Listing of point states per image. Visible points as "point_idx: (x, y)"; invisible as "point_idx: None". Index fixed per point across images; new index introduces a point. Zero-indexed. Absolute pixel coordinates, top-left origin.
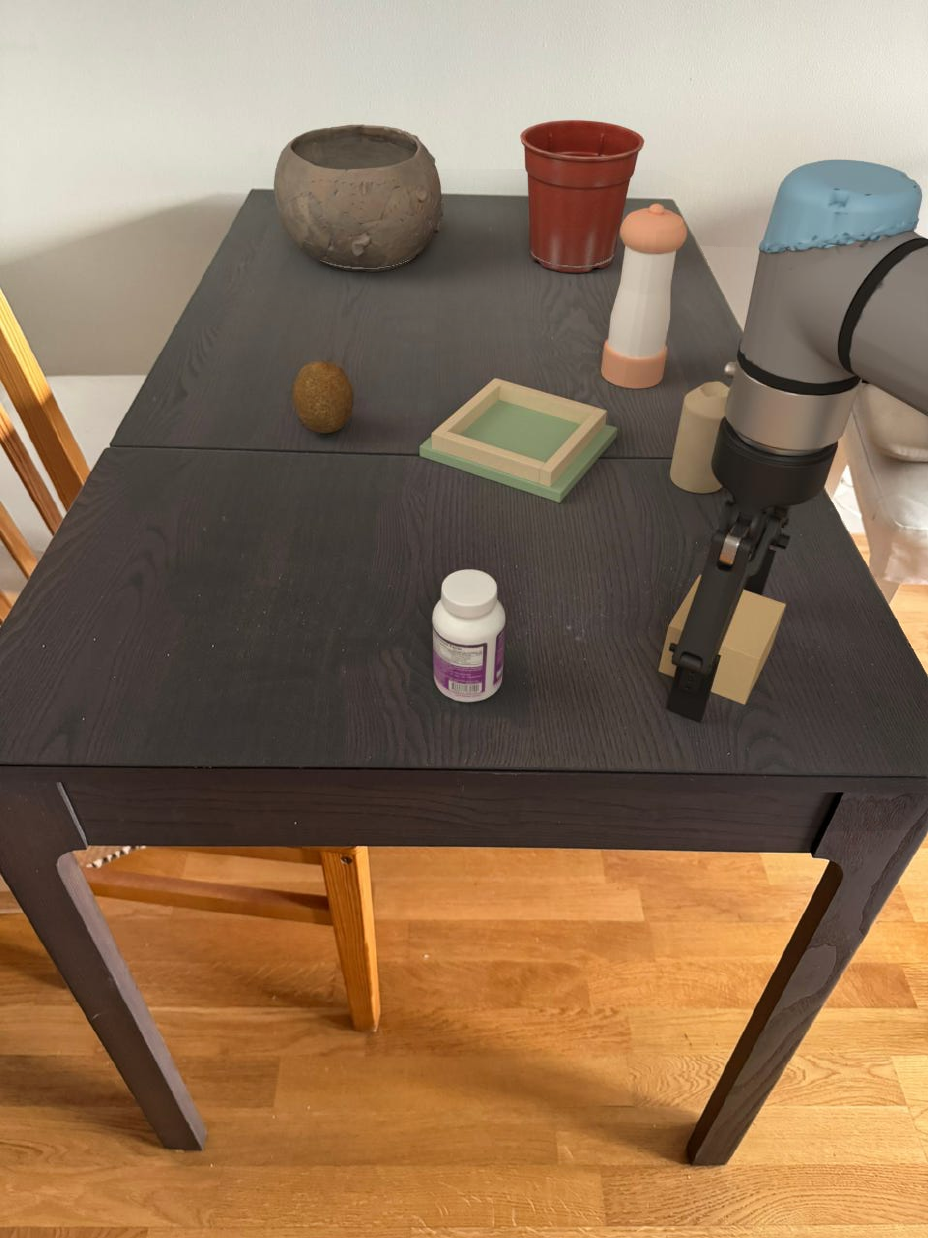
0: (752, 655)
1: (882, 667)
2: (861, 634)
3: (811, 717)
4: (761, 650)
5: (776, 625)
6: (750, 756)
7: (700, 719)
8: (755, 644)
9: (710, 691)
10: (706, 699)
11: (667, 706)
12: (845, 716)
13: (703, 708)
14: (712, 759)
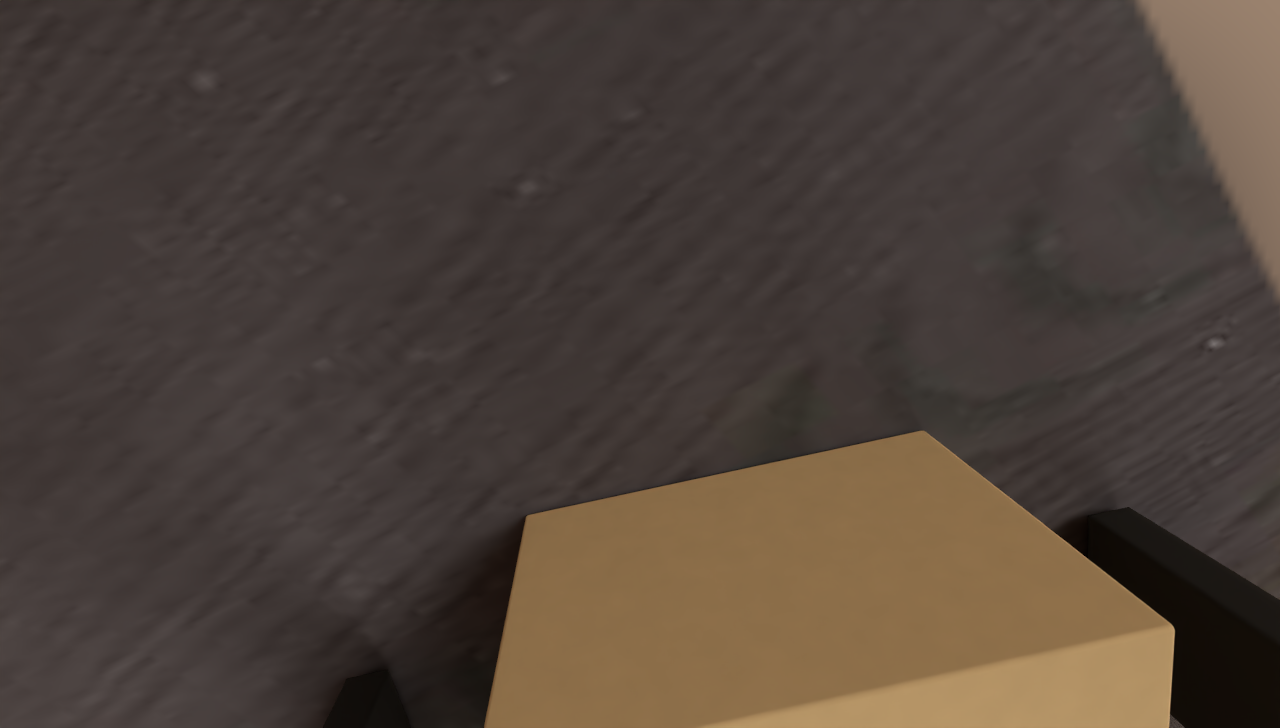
0: (1164, 674)
1: (174, 17)
2: (31, 237)
3: (808, 162)
4: (1081, 658)
5: (709, 698)
6: (1187, 265)
7: (1146, 519)
8: (1049, 714)
9: (1241, 617)
10: (1274, 598)
11: None
12: (691, 22)
13: (1208, 559)
14: (1273, 373)
